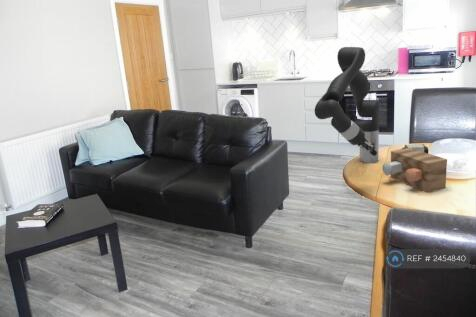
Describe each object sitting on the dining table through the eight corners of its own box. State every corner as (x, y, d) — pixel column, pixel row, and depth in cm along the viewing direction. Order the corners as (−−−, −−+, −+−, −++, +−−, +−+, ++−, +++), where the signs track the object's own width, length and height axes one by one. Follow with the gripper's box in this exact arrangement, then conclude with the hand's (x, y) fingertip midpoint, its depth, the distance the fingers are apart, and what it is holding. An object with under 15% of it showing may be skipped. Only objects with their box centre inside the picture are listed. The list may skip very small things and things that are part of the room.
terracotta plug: (405, 179, 178) (405, 167, 176) (424, 174, 181) (425, 163, 179) (414, 183, 172) (414, 171, 171) (434, 178, 176) (435, 166, 174)
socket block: (390, 177, 193) (391, 151, 190) (407, 173, 196) (408, 147, 193) (427, 192, 173) (428, 163, 169) (445, 187, 176) (447, 159, 172)
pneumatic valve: (427, 167, 202) (428, 144, 198) (403, 168, 204) (403, 145, 201) (425, 163, 207) (425, 141, 203) (400, 164, 209) (401, 142, 206)
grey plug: (382, 173, 188) (382, 161, 186) (401, 168, 191) (401, 157, 189) (390, 176, 183) (390, 164, 181) (410, 172, 186) (410, 160, 184)
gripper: (366, 127, 166) (390, 150, 174) (347, 122, 178) (370, 144, 186) (355, 142, 166) (380, 164, 174) (337, 136, 178) (360, 157, 186)
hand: (375, 154), depth 180 cm, fingers closed
